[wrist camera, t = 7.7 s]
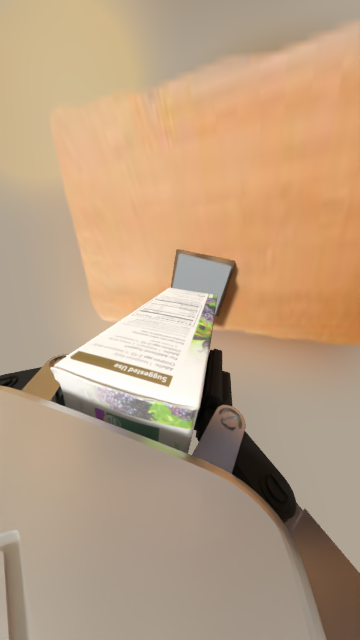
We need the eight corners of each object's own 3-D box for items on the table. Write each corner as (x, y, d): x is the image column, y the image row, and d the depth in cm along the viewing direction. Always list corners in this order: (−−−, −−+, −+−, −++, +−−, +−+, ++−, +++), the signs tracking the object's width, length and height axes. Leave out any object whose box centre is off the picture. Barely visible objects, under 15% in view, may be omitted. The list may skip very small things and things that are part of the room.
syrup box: (208, 338, 20) (185, 502, 7) (163, 329, 21) (69, 457, 8) (218, 294, 17) (208, 417, 4) (166, 286, 18) (38, 367, 5)
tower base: (234, 260, 33) (235, 261, 31) (218, 312, 39) (218, 316, 36) (180, 249, 35) (176, 249, 33) (171, 300, 40) (168, 303, 38)
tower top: (230, 265, 31) (231, 267, 29) (215, 311, 36) (214, 316, 33) (182, 253, 33) (178, 253, 30) (173, 299, 37) (169, 302, 34)
